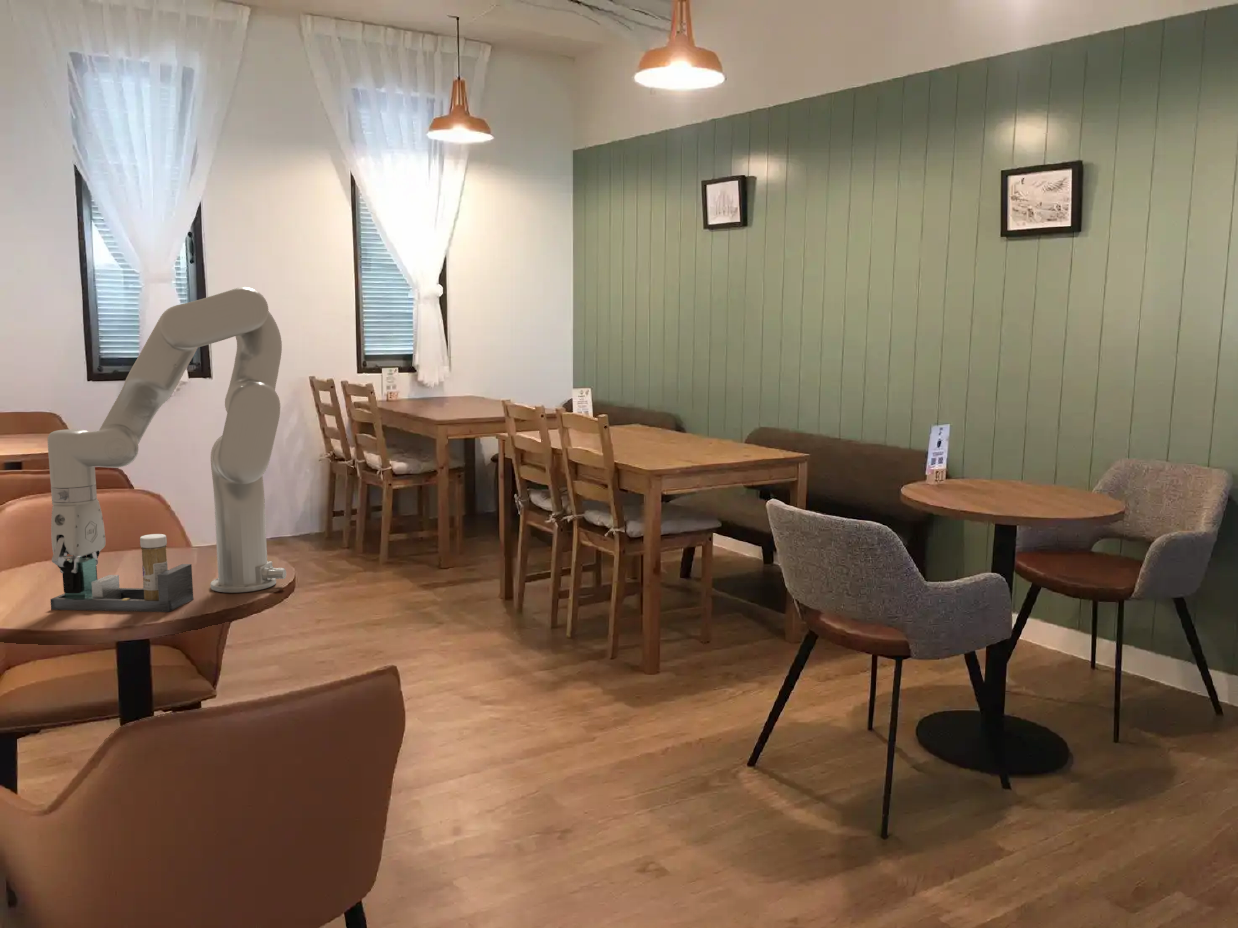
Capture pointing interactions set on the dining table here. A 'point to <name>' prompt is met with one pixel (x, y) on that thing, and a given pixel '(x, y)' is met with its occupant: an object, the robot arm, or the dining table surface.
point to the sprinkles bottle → (153, 563)
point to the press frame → (139, 595)
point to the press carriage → (95, 582)
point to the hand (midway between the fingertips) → (81, 588)
